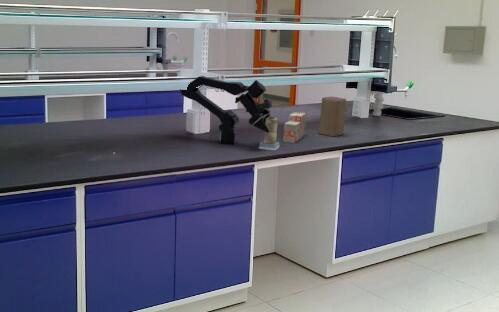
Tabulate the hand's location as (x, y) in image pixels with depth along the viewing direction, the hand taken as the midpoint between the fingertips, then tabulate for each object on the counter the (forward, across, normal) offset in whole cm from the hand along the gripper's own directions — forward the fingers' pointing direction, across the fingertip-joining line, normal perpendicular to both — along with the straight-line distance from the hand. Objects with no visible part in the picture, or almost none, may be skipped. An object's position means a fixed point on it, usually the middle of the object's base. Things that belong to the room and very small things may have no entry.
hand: (271, 130), depth 264 cm
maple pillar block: (+5, +1, +5) cm, 8 cm away
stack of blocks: (+10, +28, +2) cm, 30 cm away
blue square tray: (+6, 0, +6) cm, 8 cm away
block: (+21, +49, -9) cm, 55 cm away
